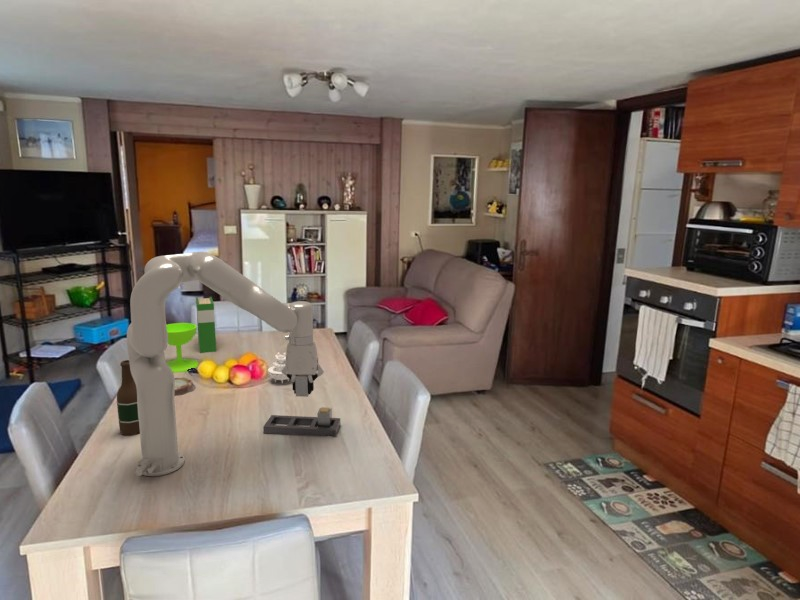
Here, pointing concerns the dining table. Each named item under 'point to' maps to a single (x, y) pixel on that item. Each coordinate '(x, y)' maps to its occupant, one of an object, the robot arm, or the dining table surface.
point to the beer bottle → (127, 402)
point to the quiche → (183, 386)
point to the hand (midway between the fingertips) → (303, 391)
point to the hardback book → (206, 325)
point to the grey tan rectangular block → (325, 417)
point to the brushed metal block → (301, 385)
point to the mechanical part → (278, 367)
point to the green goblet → (178, 337)
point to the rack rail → (299, 430)
